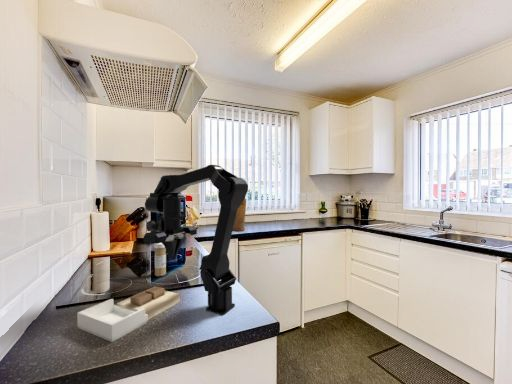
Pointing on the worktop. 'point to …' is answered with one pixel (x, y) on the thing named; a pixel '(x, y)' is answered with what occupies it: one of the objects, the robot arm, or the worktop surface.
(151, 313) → the birch plate
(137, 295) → the walnut tile
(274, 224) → the worktop surface
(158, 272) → the sprinkles bottle
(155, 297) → the walnut tile
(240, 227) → the pancake mix bag
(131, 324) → the box
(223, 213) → the robot arm
